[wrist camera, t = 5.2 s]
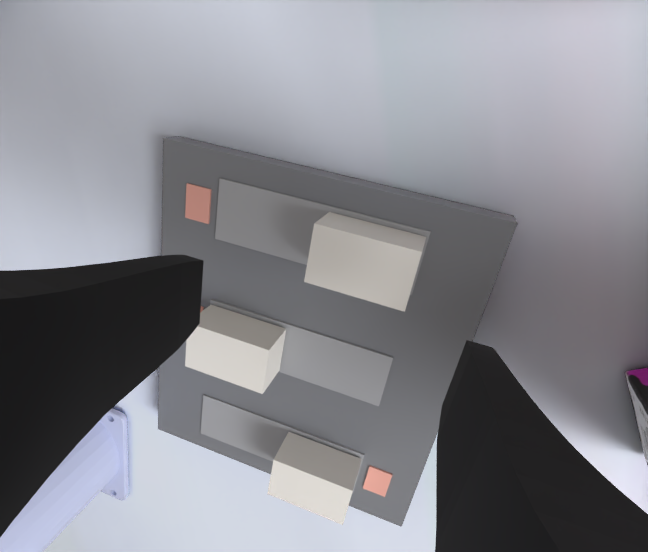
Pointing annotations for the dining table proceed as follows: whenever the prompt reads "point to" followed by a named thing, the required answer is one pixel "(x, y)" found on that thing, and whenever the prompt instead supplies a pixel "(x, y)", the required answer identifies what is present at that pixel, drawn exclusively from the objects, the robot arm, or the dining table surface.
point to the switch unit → (323, 315)
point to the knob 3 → (364, 259)
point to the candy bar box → (640, 402)
